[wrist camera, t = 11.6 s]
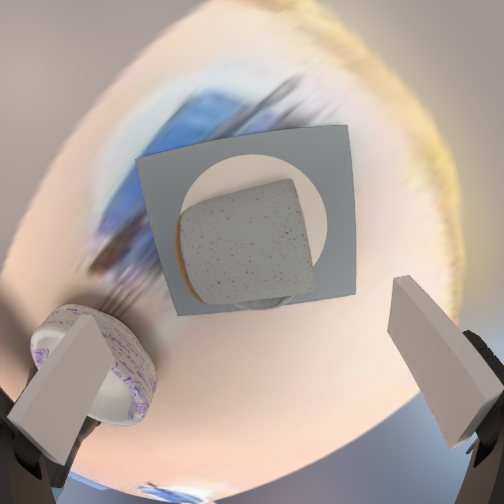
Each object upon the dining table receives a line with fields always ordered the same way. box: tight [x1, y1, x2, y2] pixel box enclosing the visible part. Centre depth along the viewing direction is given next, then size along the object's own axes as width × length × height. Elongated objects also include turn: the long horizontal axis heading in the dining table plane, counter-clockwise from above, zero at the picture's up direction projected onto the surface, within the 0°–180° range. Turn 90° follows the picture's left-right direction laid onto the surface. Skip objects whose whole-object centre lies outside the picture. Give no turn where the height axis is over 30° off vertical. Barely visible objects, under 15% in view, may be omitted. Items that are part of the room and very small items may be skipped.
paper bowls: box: [30, 304, 157, 426], centre depth 26 cm, size 15×15×8 cm
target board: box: [135, 125, 356, 316], centre depth 23 cm, size 17×15×2 cm
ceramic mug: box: [174, 179, 316, 310], centre depth 19 cm, size 11×8×8 cm
